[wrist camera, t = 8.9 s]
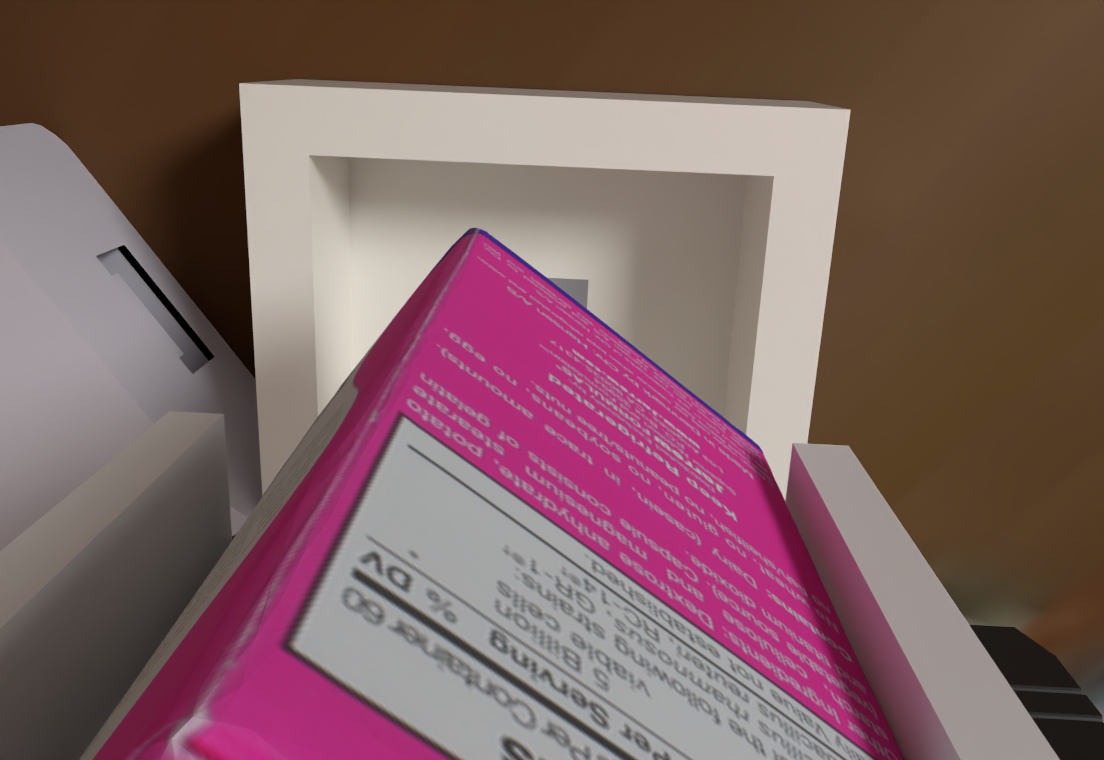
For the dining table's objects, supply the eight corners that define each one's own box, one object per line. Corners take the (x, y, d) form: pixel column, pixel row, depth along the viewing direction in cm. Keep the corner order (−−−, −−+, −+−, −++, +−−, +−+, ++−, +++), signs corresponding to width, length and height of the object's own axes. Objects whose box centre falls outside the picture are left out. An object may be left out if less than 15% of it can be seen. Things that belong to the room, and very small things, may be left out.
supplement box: (549, 697, 17) (451, 1885, 6) (259, 493, 16) (-502, 1451, 5) (782, 451, 15) (1249, 1445, 4) (476, 208, 14) (71, 686, 3)
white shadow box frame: (296, 79, 21) (239, 83, 18) (808, 101, 21) (850, 109, 17) (314, 537, 24) (268, 615, 21) (754, 561, 24) (781, 644, 21)
